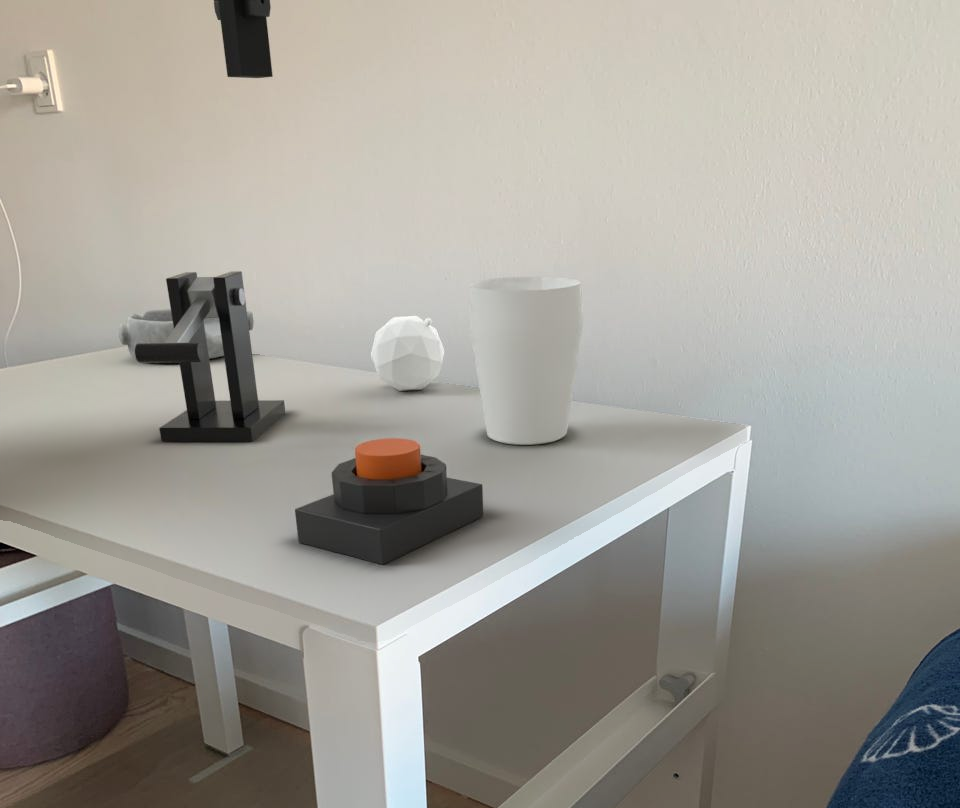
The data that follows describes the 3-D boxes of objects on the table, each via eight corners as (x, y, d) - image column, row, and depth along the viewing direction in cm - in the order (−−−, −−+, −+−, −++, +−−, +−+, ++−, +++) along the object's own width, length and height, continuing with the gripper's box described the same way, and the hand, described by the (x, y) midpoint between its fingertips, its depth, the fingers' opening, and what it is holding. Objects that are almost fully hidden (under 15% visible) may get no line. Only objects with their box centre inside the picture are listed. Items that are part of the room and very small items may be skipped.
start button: (392, 487, 60) (390, 459, 59) (343, 477, 62) (341, 449, 61) (434, 471, 63) (433, 443, 62) (386, 461, 65) (384, 435, 64)
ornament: (415, 376, 106) (455, 315, 101) (423, 416, 101) (466, 354, 96) (356, 348, 102) (394, 283, 98) (361, 388, 97) (402, 322, 93)
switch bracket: (252, 441, 84) (231, 281, 79) (161, 441, 85) (133, 283, 79) (285, 413, 93) (268, 267, 87) (202, 413, 94) (180, 268, 88)
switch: (202, 371, 77) (194, 341, 75) (139, 371, 78) (130, 342, 76) (244, 303, 86) (237, 275, 84) (188, 304, 86) (180, 277, 85)
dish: (265, 344, 127) (260, 303, 124) (215, 366, 115) (209, 321, 112) (162, 343, 130) (155, 303, 128) (102, 364, 118) (94, 320, 115)
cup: (456, 445, 81) (450, 290, 76) (493, 418, 89) (490, 275, 83) (564, 453, 78) (565, 291, 73) (593, 424, 86) (596, 276, 80)
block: (383, 565, 58) (378, 499, 57) (298, 542, 62) (290, 480, 60) (483, 516, 65) (482, 456, 64) (402, 498, 69) (398, 442, 67)
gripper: (324, -409, 56) (359, 72, 67) (175, -342, 63) (228, 84, 74) (221, -465, 51) (276, 68, 61) (71, -385, 58) (143, 81, 68)
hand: (250, 76), depth 68 cm, fingers closed
